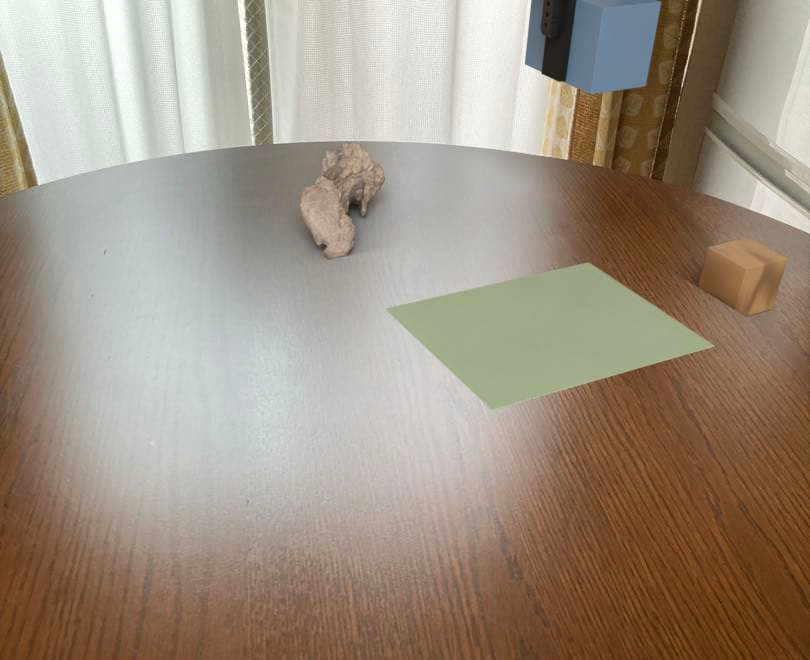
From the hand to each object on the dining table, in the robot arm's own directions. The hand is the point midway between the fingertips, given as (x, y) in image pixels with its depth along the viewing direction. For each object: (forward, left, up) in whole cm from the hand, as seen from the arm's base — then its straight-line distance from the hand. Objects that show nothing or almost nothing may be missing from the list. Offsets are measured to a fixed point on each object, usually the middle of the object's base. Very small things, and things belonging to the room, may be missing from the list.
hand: (584, 72), depth 82 cm
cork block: (0, +21, -11) cm, 24 cm away
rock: (+21, -6, -13) cm, 26 cm away
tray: (+16, +20, -13) cm, 28 cm away
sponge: (0, 0, 0) cm, 0 cm away
